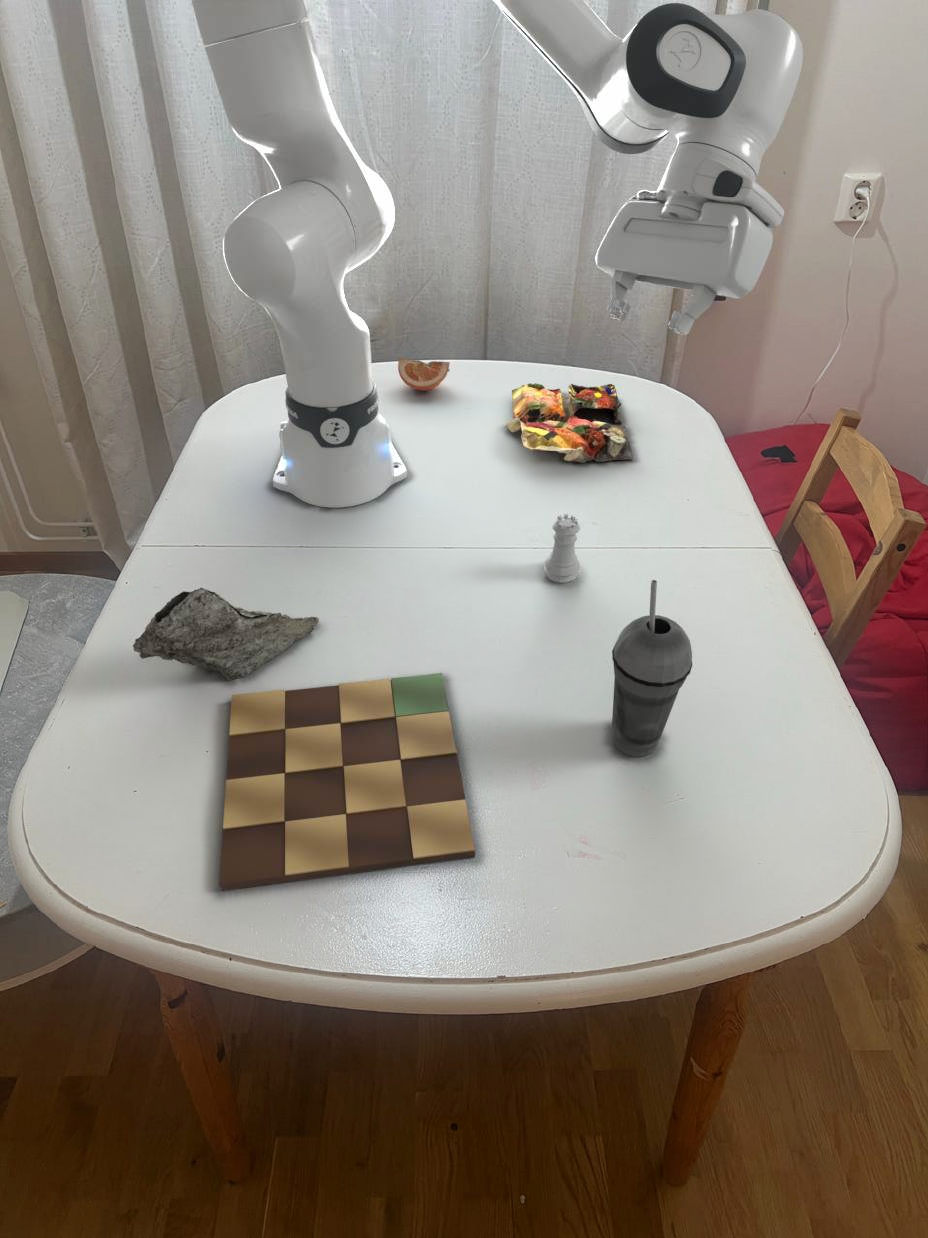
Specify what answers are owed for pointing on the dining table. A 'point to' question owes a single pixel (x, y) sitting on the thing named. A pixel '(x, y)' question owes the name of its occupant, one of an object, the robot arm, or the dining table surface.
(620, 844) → the dining table surface
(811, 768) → the dining table surface
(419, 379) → the fruit slice
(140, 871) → the dining table surface
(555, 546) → the rook chess piece
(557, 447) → the food
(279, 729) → the board
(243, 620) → the concrete fragment
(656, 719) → the beverage cup
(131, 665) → the dining table surface
